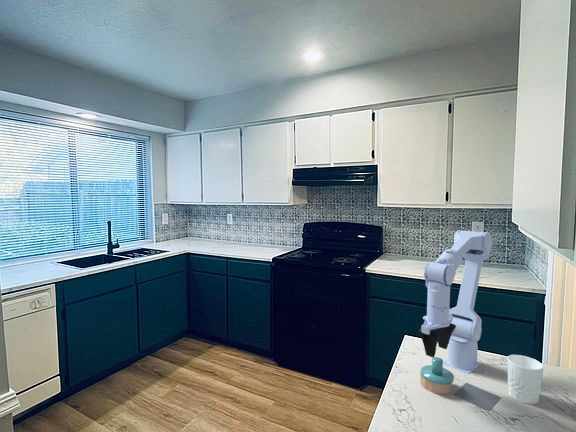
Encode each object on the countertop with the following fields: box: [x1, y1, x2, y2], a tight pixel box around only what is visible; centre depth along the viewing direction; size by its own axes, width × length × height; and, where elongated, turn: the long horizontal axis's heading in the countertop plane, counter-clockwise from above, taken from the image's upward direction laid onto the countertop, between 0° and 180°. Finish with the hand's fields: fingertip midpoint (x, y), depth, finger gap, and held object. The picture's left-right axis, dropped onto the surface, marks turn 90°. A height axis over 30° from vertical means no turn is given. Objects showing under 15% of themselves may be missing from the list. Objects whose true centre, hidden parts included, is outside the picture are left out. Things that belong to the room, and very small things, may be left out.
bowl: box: [419, 373, 453, 395], centre depth 93 cm, size 8×8×3 cm
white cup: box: [506, 354, 544, 405], centre depth 88 cm, size 8×8×10 cm
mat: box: [452, 382, 502, 412], centre depth 88 cm, size 9×9×1 cm
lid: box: [420, 356, 455, 385], centre depth 92 cm, size 9×9×5 cm
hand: (436, 351), depth 92 cm, fingers open, 7 cm apart
